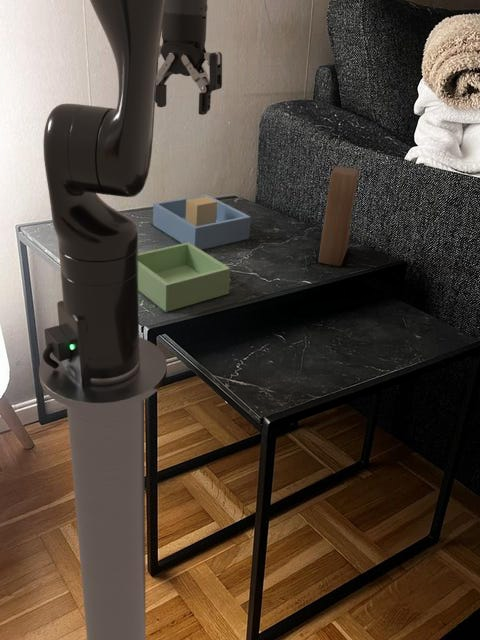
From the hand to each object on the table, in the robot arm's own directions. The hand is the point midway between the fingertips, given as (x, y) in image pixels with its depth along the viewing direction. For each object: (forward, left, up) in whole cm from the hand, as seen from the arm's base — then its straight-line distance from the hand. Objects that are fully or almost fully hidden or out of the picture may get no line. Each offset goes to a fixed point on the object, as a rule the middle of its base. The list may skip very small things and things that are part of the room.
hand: (182, 110), depth 110 cm
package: (+6, +2, -24) cm, 25 cm away
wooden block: (+22, -21, -25) cm, 40 cm away
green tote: (-12, -17, -25) cm, 33 cm away
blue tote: (+6, +2, -25) cm, 26 cm away
